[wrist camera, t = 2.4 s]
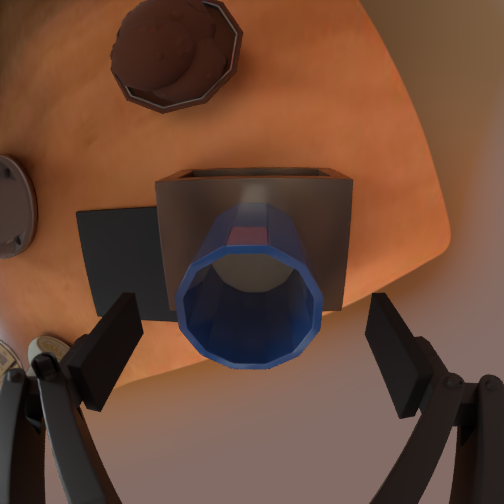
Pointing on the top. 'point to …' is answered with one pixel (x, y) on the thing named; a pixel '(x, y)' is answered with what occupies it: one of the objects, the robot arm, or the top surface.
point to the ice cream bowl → (175, 53)
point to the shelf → (258, 191)
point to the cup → (250, 290)
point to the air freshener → (45, 349)
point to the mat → (125, 259)
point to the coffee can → (7, 360)
